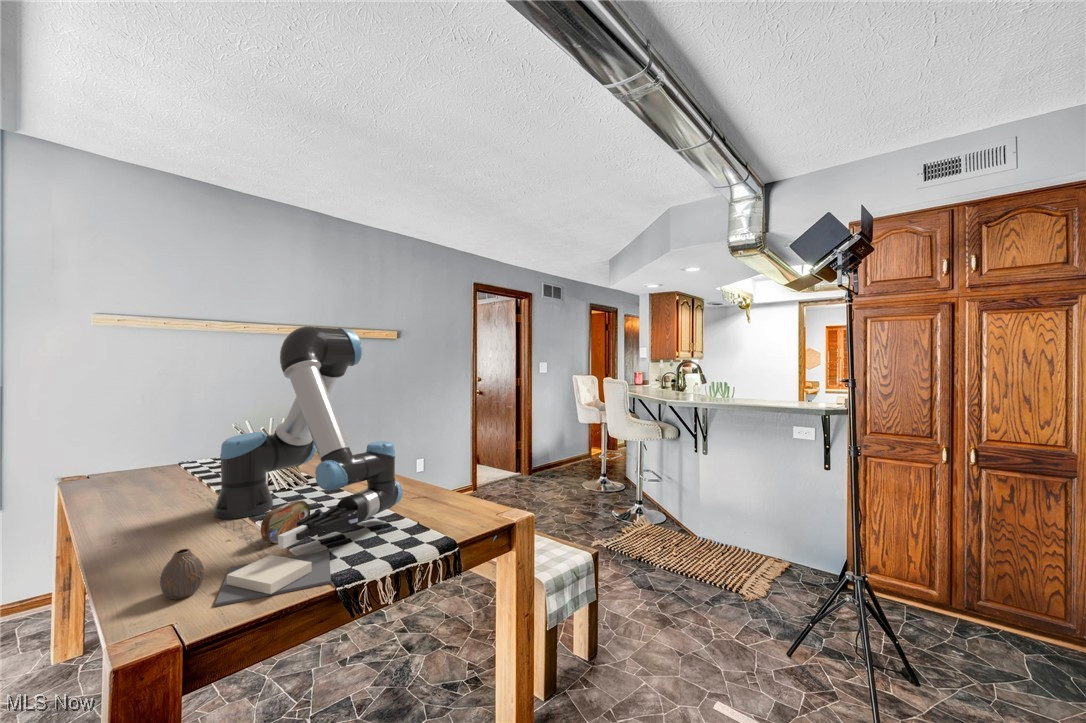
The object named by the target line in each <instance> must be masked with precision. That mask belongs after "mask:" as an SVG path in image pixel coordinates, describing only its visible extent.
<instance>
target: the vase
mask: <svg viewBox="0 0 1086 723" xmlns="http://www.w3.org/2000/svg"><path fill="white" fill-rule="evenodd" d="M204 576H205V568H204V564H203V562H202V560H201V559H200V557H197V556H196V555H195V554H194V553H193V552H192V550H191V549H190V548H181V549H178V550H176V551H175V552H174V554H173V555H172V557H171V558H170V560H169V561H168V562H167V563H166V564H165V566H164V567H163V570H162V571H161V574H160V578H159V586H160V590H161V593H162V594H163V595H164V596H165V597H167V598H168V599H170V600H181V599H186V598H189V597H190V596H192V595H194V594H195V593H196V592H197V591H198V590H199V588H200V587H201V585H202V584H203V580H204Z"/></svg>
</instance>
